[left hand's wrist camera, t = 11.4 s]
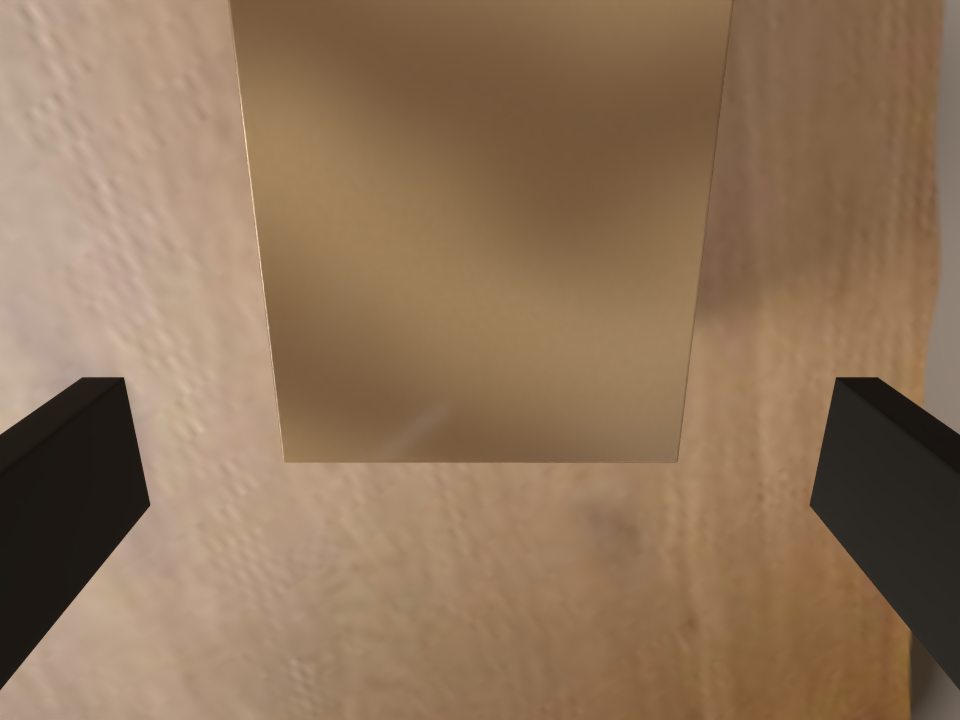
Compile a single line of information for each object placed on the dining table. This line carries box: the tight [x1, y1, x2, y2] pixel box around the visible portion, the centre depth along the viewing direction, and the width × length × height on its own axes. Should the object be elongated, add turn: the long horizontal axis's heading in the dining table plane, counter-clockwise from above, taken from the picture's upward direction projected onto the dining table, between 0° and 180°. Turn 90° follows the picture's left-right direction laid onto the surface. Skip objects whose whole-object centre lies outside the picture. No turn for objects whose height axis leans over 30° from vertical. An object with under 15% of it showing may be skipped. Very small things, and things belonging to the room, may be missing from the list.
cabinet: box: [228, 0, 734, 463], centre depth 20 cm, size 22×11×10 cm, turn 0°
